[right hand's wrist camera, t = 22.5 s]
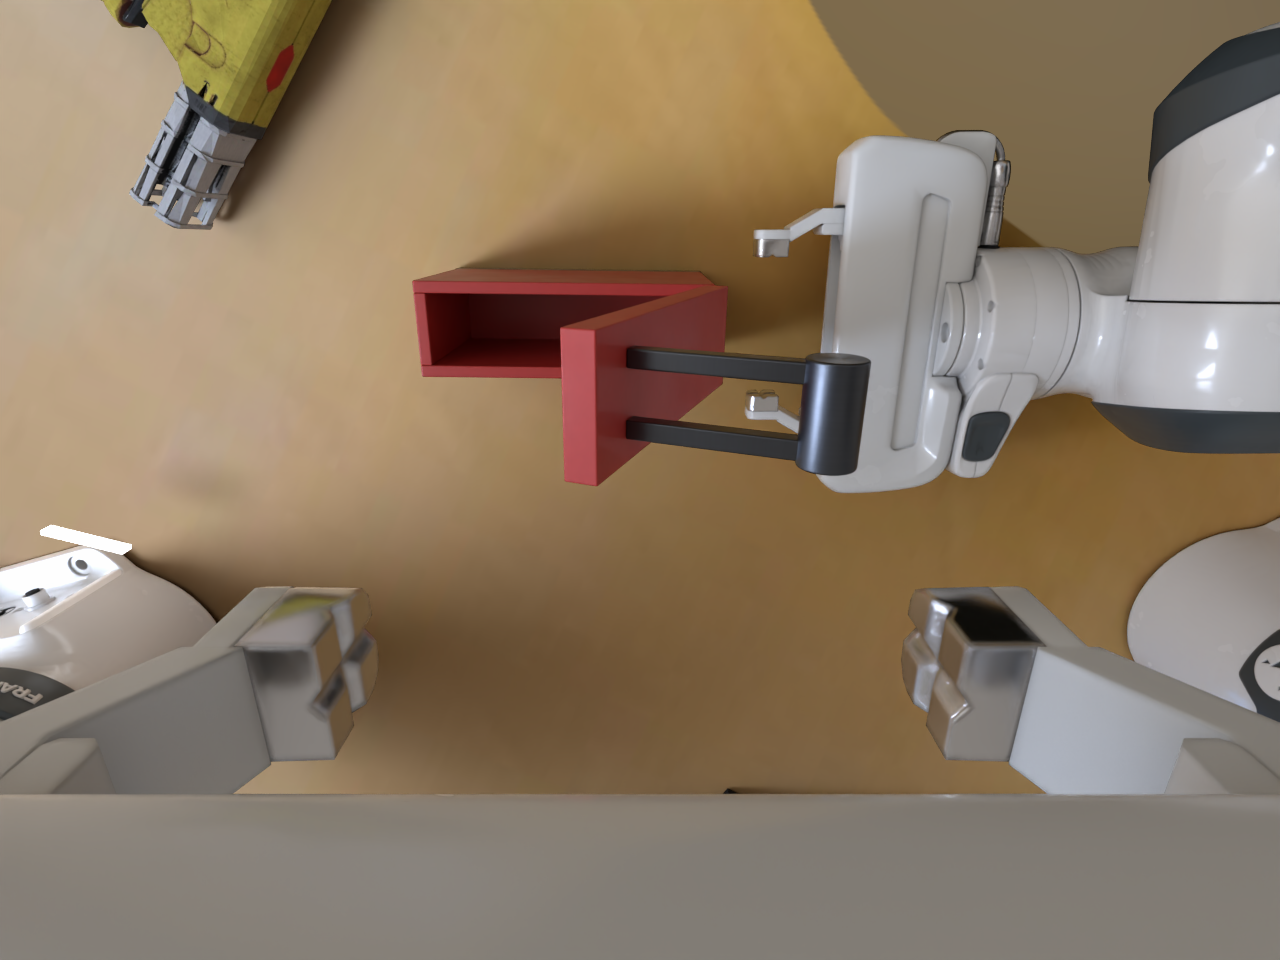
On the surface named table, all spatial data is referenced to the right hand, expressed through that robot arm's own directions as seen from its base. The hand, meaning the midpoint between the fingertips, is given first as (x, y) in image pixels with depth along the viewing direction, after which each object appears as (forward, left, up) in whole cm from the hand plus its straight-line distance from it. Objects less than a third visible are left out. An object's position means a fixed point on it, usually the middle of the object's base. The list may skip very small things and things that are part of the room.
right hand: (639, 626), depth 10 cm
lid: (0, 0, -20) cm, 20 cm away
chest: (-4, +1, -38) cm, 38 cm away
